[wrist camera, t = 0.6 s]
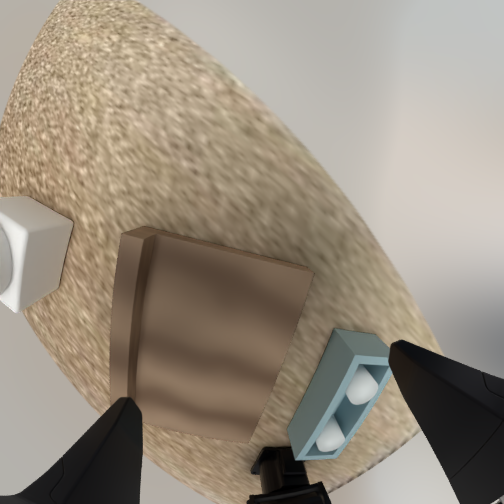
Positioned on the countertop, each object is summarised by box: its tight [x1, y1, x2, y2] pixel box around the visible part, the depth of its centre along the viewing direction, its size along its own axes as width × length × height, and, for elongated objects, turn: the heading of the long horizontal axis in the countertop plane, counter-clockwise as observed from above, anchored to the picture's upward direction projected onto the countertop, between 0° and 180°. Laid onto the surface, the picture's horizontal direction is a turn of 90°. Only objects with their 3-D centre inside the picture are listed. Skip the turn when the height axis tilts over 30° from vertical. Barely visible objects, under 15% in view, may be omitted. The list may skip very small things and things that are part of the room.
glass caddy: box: [287, 328, 392, 460], centre depth 23 cm, size 14×5×6 cm, turn 165°
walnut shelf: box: [110, 226, 315, 443], centre depth 21 cm, size 20×14×5 cm
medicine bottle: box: [0, 196, 73, 313], centre depth 14 cm, size 7×7×12 cm
